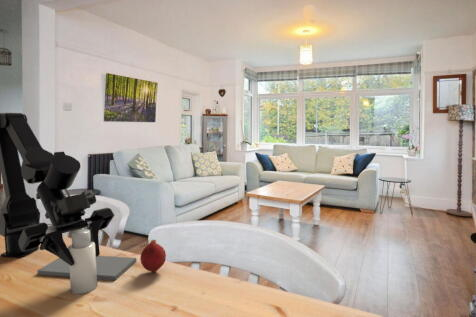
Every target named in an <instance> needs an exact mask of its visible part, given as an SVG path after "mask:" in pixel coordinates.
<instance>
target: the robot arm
mask: <svg viewBox="0 0 476 317" xmlns="http://www.w3.org/2000/svg"><path fill="white" fill-rule="evenodd" d="M20 157H21V159H22V162H21V160H20ZM80 170H81V162H80V161H79V160H78V159H76V158H75V157H74V156H71V155H68V154H66V153H65V151H55V152H53V153H52V152H50V151H48V150H46V149H44V148H43V147H42V145H41V143H40V141H39V139H38V138H37V136H36V135H35V133H34V131H33V130H32V128H31V126H30V124H29V123H28V118H27V114H25V113H22V112H0V175H1V179H2V185H3V189H4V190H3V191H4V195H5V199H4V201H3V203H2V205H1V206H0V236H1V237H4V247H5V251H4V252H3V253H0V256H1V257H6V258H8V257H10V258H23V257H25V256H27V255H29V254H31V253H33V252H35V251H37V250H40V251H47V252H48V253H51V254H52V255H54V256H56V257H57V258H60V259H62V260H63V261H65V262H66V263H67V264H69V265H70V266H73V265H74V260H73V258H72V255H71V254H70V252H69V250H68V245H67V244H66V242H65V241H64V237H63V236H64V235H63V234H66V233H69V232H73V231H76V230H81V229H89V230H90V237H91V241H92V242H94V243H95V253H96V257H98V256H100V253H101V252H100V244H99V243H100V241H99V240H100V238H99V232H100V231H102V230H105V229H106V228H108V226H109V224H110V223H111V222H112V220H113V218H114V217H115V213H114V212H113V209H112V208H109V207H104V208H100V209H95V210H93V211H92V213H91V215H90V216H89V217H85V218H82V217H84V216H85V214H86V211H85V210H86V209H90V208H92V207H91V206H93V205H94V204H96V203H97V197H96V195H95V193H94V191H93V190H92V189H88V190H84V191H83V192H81V193H80V194H79V193H78V194H73V195H70V192H69V190H68V189H69V188H70V187H72V186H73V183H74V181H75V179H76V177H77V175H78V173H79V171H80ZM25 182H26V183H27V184H29V185H31V184H32V185H34V184H38V186H37V188H36V195H35V196H36V198H35V197H31V196H30V195H29V194H28V193H27V190H26V185H25ZM37 200H40V202H41V204H42V205H43V208H44V210H45V214H44V217H45V218H46V219H49V221H50V223H51V225H47V223H46V222H40V221H41V220H40V219H41V211H40V209H39V208H38V207H37Z"/></svg>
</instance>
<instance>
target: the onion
mask: <svg viewBox="0 0 476 317" xmlns="http://www.w3.org/2000/svg"><path fill="white" fill-rule="evenodd" d="M166 259H167V253H166V250H165V249H164V247H163V246H162V245H160V244H159V243H157V240H156V239H154V238H153V239H151V240H150V242H149V244H147V245H145V247H143V249H142V252H141V254H140V260H139V261H140V263H141V265H142V267H143V269H145V270H146V271H148V272H151V273H156V272H158V270H160V269H161V268H162V267H163V265H165V262H166Z"/></svg>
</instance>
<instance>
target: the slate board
mask: <svg viewBox="0 0 476 317" xmlns="http://www.w3.org/2000/svg"><path fill="white" fill-rule="evenodd" d="M135 263H137V257H126V256H111V255H109V256H108V255H99V256H98V257H96V270H97V280H105V281H107V280H108V281H116V280H118V279H119V278H120V277H121V276H122V275H123V274H124V273H125V272H127V271H128V270H129V269H130V268H131V267H132V266H133V265H134V264H135ZM36 272H37V273H36V274H37V276H38V275H40V276H41V275H42V276H50V277H51V276H53V277H54V276H55V277H67V278H70V270H69V264H67V263H66V262H65V261H63V260H62V259H60V258H59V257H57V258H56V259H54V260H53V261H51V262H49V263H48V264H45V265H44V266H42V267H41V268H38V269H37V271H36Z"/></svg>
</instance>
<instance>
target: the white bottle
mask: <svg viewBox="0 0 476 317" xmlns="http://www.w3.org/2000/svg"><path fill="white" fill-rule="evenodd" d="M70 234H71V244H70V245H68V246H67V248H68V250H69V252H70V254H71V255H72V258H73V260H74V265H73V266H70V265H69V270H70V277H69V281H70V282H69V284H70V292H71V294H75V295H82V294H87V293H89V292H92V291H94V290H96V289H97V287H98V279H97V270H96V253H95V243H94V242H92V241H91V237H90V230H89V229H84V228H81V229H77V230H73V231H71V233H70Z"/></svg>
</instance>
